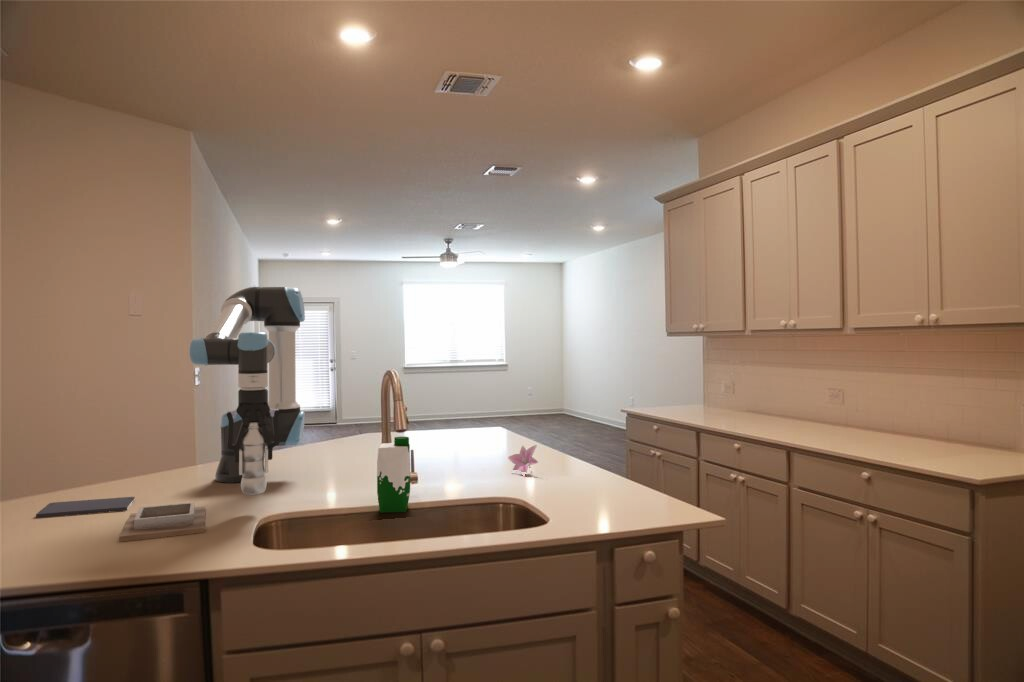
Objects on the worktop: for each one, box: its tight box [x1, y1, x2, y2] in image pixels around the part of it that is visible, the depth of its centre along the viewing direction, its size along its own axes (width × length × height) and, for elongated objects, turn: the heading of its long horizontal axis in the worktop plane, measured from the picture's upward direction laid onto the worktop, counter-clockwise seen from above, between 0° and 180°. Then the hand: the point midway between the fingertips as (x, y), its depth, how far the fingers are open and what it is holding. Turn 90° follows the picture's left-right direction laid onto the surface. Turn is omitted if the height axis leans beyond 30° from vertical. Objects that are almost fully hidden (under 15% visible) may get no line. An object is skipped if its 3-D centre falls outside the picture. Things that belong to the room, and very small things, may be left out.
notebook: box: [35, 496, 135, 519], centre depth 186 cm, size 13×2×21 cm
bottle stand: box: [119, 501, 207, 543], centre depth 170 cm, size 22×18×4 cm
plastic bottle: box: [240, 422, 268, 496], centre depth 183 cm, size 6×7×20 cm
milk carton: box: [376, 436, 411, 514], centre depth 186 cm, size 9×9×20 cm
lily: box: [507, 444, 539, 473], centre depth 235 cm, size 12×12×10 cm
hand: (253, 472), depth 183 cm, fingers closed on plastic bottle, 6 cm apart
